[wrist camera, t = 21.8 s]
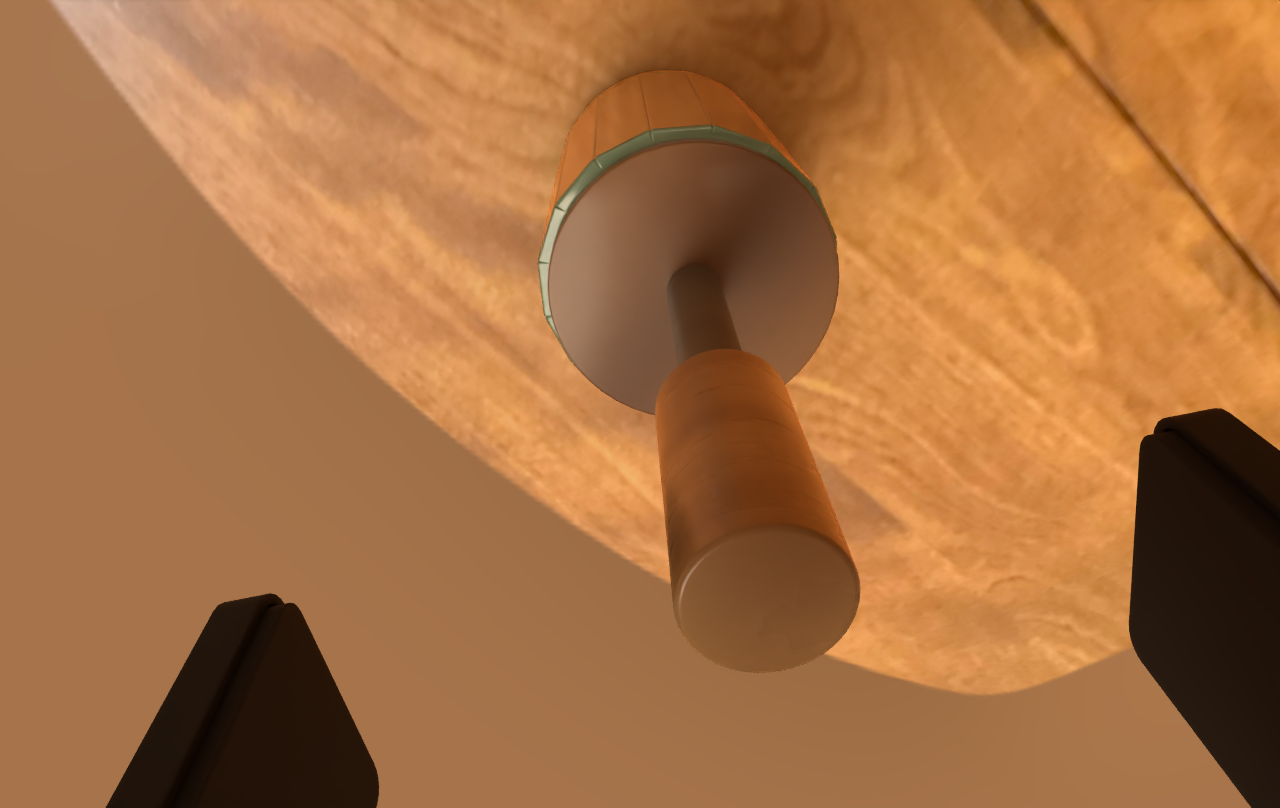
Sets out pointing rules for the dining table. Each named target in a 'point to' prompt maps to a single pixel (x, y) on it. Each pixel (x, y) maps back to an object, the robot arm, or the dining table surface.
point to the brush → (717, 382)
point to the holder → (652, 138)
